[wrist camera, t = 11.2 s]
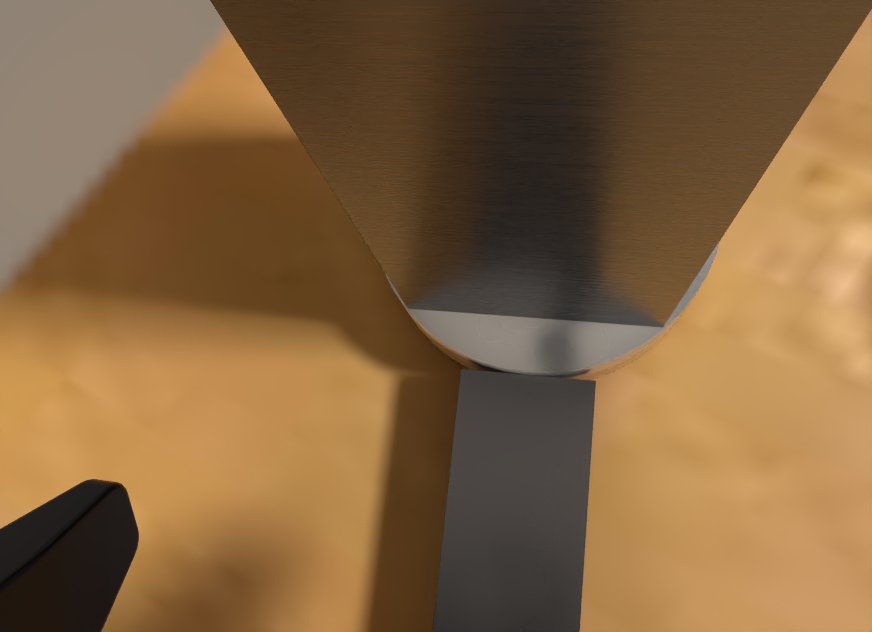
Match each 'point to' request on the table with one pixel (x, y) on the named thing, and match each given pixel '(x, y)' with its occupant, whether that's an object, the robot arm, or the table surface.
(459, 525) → the ratchet
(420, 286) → the socket
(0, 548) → the robot arm
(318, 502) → the table surface
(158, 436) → the table surface
